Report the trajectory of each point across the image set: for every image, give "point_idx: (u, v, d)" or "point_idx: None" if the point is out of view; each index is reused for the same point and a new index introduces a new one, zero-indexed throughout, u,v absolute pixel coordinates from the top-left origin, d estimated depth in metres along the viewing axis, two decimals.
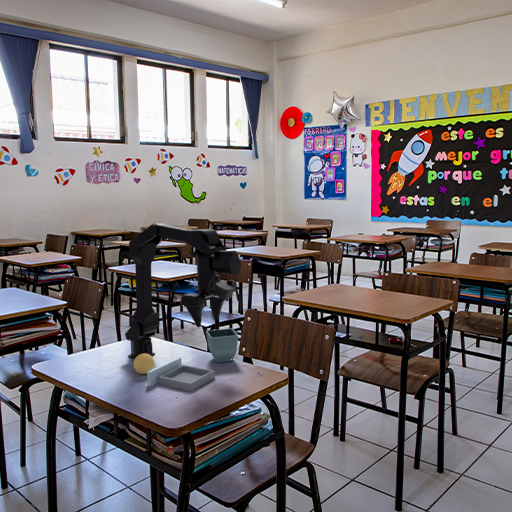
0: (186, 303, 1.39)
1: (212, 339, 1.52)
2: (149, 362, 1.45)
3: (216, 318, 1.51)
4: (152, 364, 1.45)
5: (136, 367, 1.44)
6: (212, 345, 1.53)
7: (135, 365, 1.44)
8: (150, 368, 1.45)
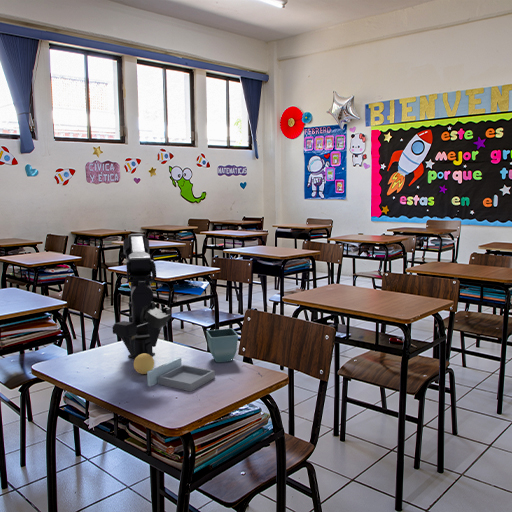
0: (117, 332, 1.38)
1: (212, 339, 1.52)
2: (149, 362, 1.45)
3: (153, 345, 1.50)
4: (152, 364, 1.45)
5: (136, 367, 1.44)
6: (212, 345, 1.53)
7: (135, 365, 1.44)
8: (150, 368, 1.45)
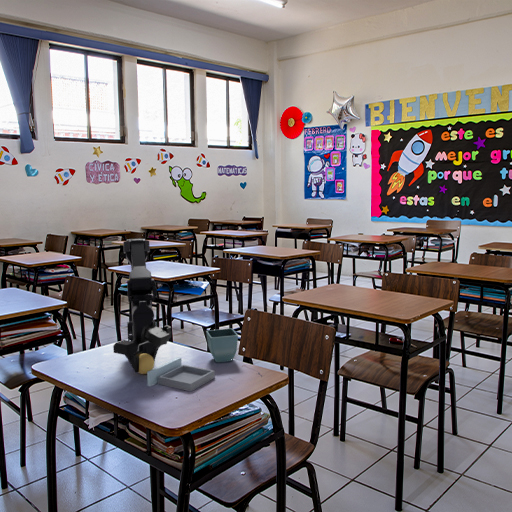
0: (118, 351, 1.38)
1: (212, 339, 1.52)
2: (149, 362, 1.45)
3: None
4: (152, 364, 1.45)
5: None
6: (212, 345, 1.53)
7: None
8: (150, 368, 1.45)
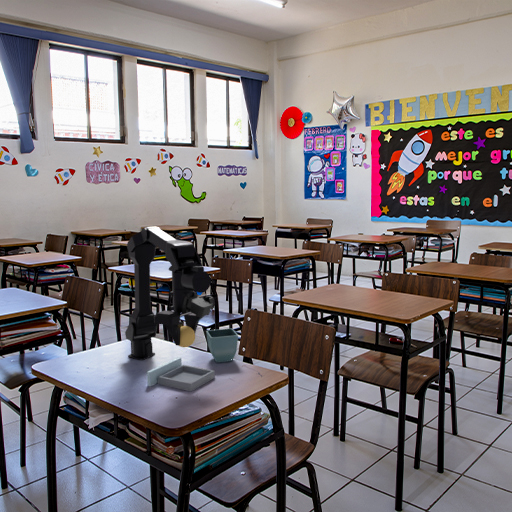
0: (160, 322, 1.30)
1: (212, 339, 1.52)
2: (191, 335, 1.37)
3: None
4: (193, 337, 1.38)
5: None
6: (212, 345, 1.53)
7: None
8: (191, 341, 1.37)
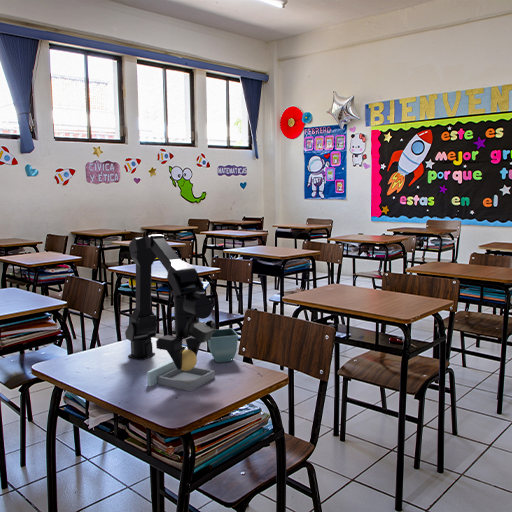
0: (162, 347, 1.31)
1: (212, 339, 1.52)
2: (192, 359, 1.38)
3: None
4: (195, 360, 1.39)
5: None
6: (212, 345, 1.53)
7: None
8: (193, 365, 1.38)
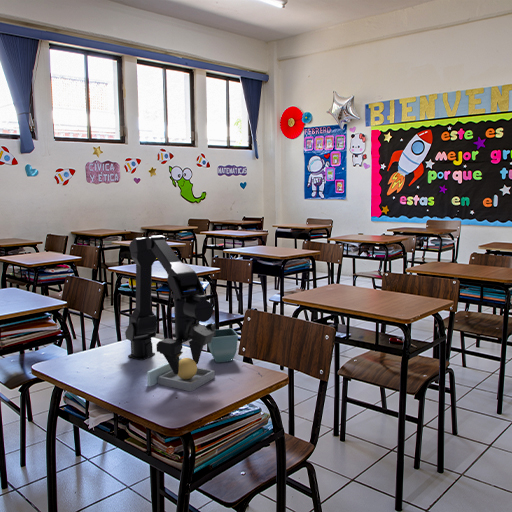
0: (162, 350, 1.31)
1: (212, 339, 1.52)
2: (193, 367, 1.38)
3: (196, 362, 1.44)
4: (195, 369, 1.39)
5: (179, 372, 1.38)
6: (212, 345, 1.53)
7: None
8: (193, 373, 1.38)
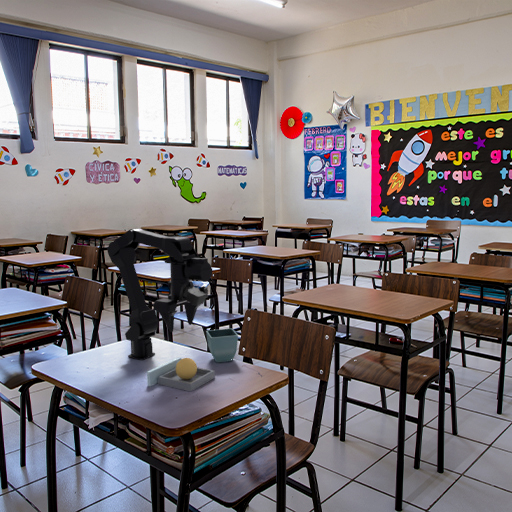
0: (158, 308, 1.44)
1: (212, 339, 1.52)
2: (193, 367, 1.38)
3: (190, 323, 1.56)
4: (195, 369, 1.39)
5: (179, 372, 1.38)
6: (212, 345, 1.53)
7: (178, 370, 1.38)
8: (193, 373, 1.38)
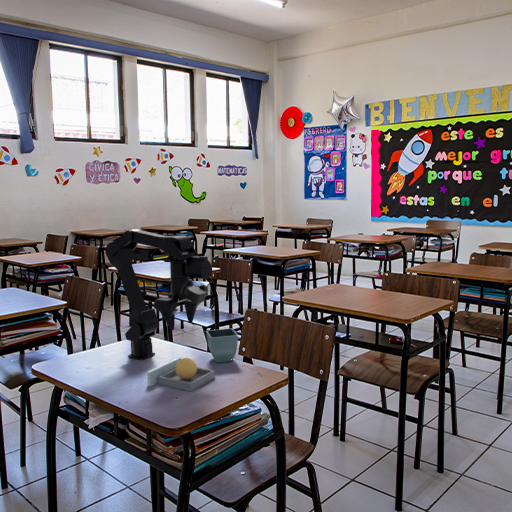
0: (159, 307, 1.45)
1: (212, 339, 1.52)
2: (192, 367, 1.38)
3: (190, 321, 1.57)
4: (195, 369, 1.39)
5: (179, 373, 1.38)
6: (212, 345, 1.53)
7: (178, 370, 1.38)
8: (193, 373, 1.38)
